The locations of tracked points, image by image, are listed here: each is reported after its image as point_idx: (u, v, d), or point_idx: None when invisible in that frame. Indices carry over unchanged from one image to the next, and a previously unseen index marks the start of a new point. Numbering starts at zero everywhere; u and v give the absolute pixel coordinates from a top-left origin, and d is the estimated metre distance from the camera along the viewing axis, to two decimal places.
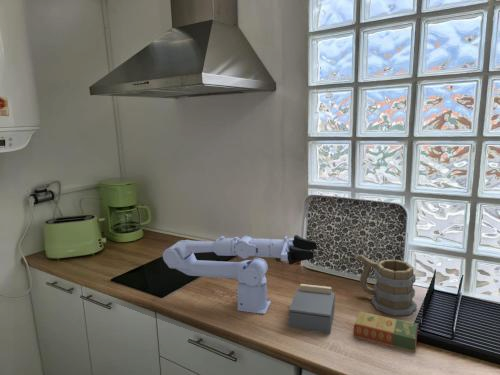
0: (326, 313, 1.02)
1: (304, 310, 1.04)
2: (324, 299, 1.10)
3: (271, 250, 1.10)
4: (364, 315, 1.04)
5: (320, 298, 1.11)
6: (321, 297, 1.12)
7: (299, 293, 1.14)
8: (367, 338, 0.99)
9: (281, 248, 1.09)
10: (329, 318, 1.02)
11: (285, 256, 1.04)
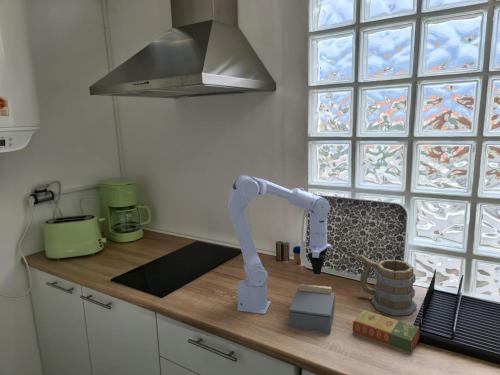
0: (326, 313, 1.02)
1: (304, 310, 1.04)
2: (324, 299, 1.10)
3: (318, 235, 1.16)
4: (366, 314, 1.05)
5: (320, 298, 1.11)
6: (321, 297, 1.12)
7: (299, 293, 1.14)
8: (365, 336, 1.00)
9: (320, 245, 1.16)
10: (329, 318, 1.02)
11: (317, 256, 1.13)
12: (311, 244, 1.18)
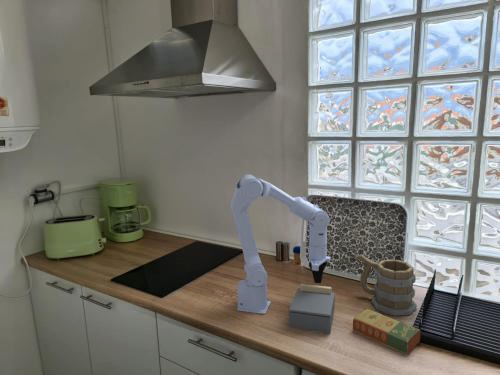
0: (326, 313, 1.02)
1: (304, 310, 1.04)
2: (324, 299, 1.10)
3: (317, 248, 1.16)
4: (368, 313, 1.05)
5: (320, 298, 1.11)
6: (321, 297, 1.12)
7: (299, 293, 1.14)
8: (364, 334, 1.01)
9: (320, 257, 1.16)
10: (329, 318, 1.02)
11: (316, 269, 1.12)
12: (311, 257, 1.18)
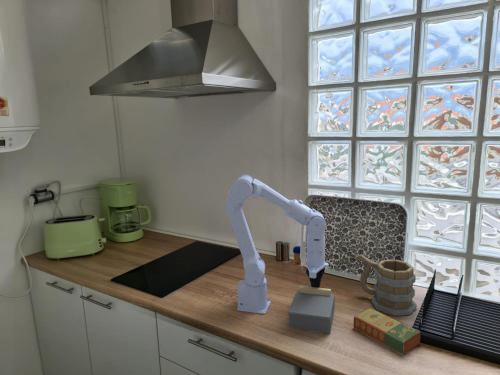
0: (325, 316, 1.01)
1: (303, 312, 1.03)
2: (323, 301, 1.09)
3: (315, 254, 1.10)
4: (370, 312, 1.06)
5: (319, 300, 1.09)
6: (321, 299, 1.10)
7: (298, 295, 1.13)
8: (364, 333, 1.02)
9: (318, 264, 1.11)
10: None
11: (314, 276, 1.07)
12: (308, 263, 1.13)
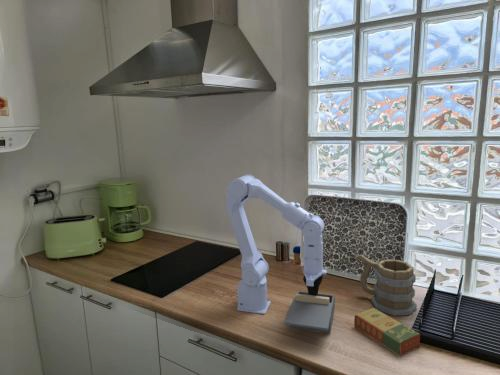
0: (323, 326, 0.96)
1: (300, 323, 0.98)
2: (321, 310, 1.03)
3: (313, 261, 1.05)
4: (373, 312, 1.06)
5: (317, 309, 1.04)
6: (319, 308, 1.05)
7: (295, 304, 1.08)
8: (364, 331, 1.02)
9: (315, 271, 1.06)
10: None
11: (311, 284, 1.02)
12: (305, 270, 1.07)
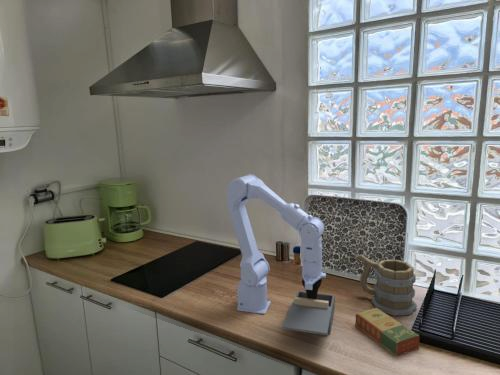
0: (322, 331, 0.93)
1: (299, 327, 0.95)
2: (320, 315, 1.01)
3: (311, 264, 1.03)
4: (375, 311, 1.06)
5: (316, 313, 1.02)
6: (318, 312, 1.03)
7: (293, 308, 1.05)
8: (364, 330, 1.03)
9: (314, 274, 1.04)
10: None
11: (310, 288, 1.00)
12: (304, 273, 1.05)
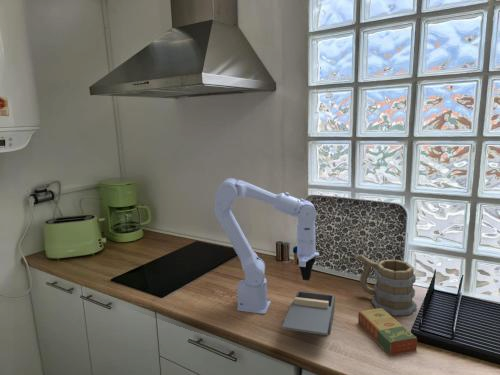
0: (322, 331, 0.93)
1: (299, 327, 0.95)
2: (320, 315, 1.01)
3: (305, 243, 1.10)
4: (378, 311, 1.06)
5: (316, 313, 1.02)
6: (318, 312, 1.03)
7: (293, 308, 1.05)
8: (364, 328, 1.04)
9: (308, 253, 1.11)
10: None
11: (303, 265, 1.07)
12: (298, 252, 1.13)
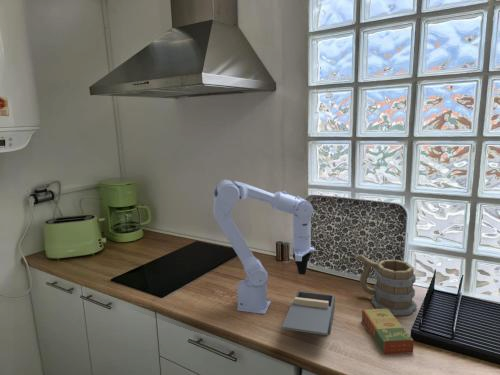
0: (322, 331, 0.93)
1: (299, 327, 0.95)
2: (320, 315, 1.01)
3: (301, 239, 1.15)
4: (382, 311, 1.06)
5: (316, 313, 1.02)
6: (318, 312, 1.03)
7: (293, 308, 1.05)
8: (366, 326, 1.04)
9: (304, 248, 1.15)
10: None
11: (299, 259, 1.11)
12: (294, 247, 1.17)
